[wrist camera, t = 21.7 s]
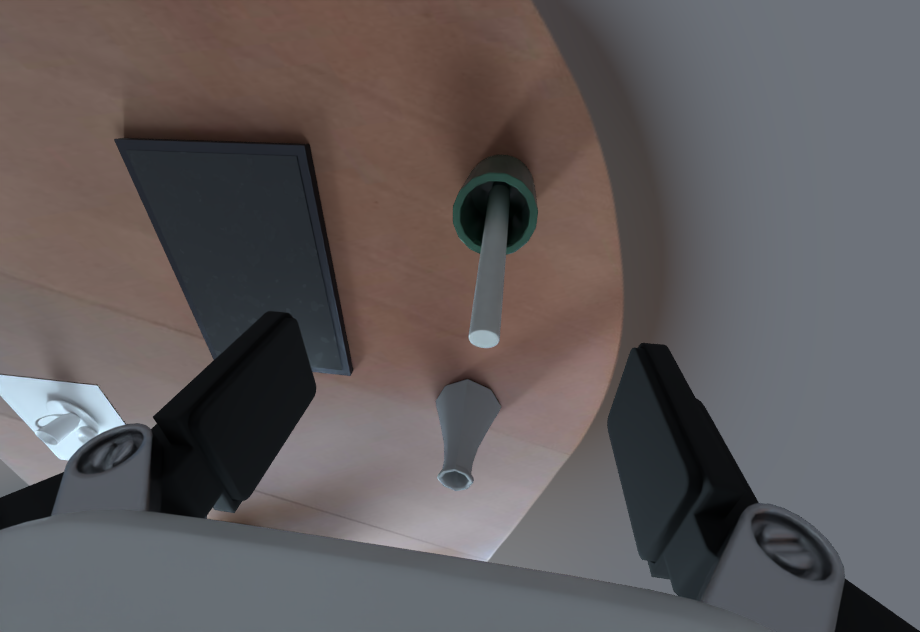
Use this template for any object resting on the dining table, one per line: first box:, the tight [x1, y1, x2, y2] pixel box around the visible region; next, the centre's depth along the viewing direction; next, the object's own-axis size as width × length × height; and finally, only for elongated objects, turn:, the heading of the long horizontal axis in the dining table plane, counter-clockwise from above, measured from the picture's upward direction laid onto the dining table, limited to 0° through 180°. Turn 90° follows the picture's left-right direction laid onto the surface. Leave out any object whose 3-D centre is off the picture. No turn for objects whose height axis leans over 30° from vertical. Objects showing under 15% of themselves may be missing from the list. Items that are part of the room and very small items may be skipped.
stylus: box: [469, 181, 510, 348], centre depth 24 cm, size 2×2×15 cm
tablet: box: [114, 138, 353, 376], centre depth 36 cm, size 24×17×1 cm
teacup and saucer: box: [34, 399, 101, 446], centre depth 54 cm, size 9×8×4 cm
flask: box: [436, 379, 501, 491], centre depth 38 cm, size 7×7×10 cm
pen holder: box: [453, 155, 538, 255], centre depth 26 cm, size 5×5×7 cm
